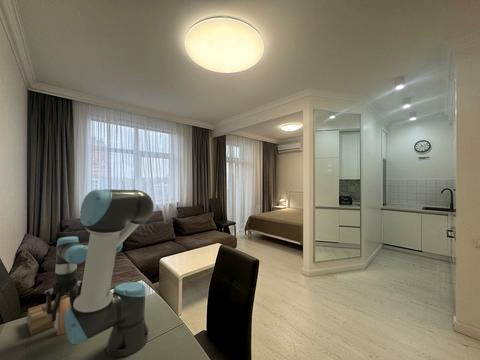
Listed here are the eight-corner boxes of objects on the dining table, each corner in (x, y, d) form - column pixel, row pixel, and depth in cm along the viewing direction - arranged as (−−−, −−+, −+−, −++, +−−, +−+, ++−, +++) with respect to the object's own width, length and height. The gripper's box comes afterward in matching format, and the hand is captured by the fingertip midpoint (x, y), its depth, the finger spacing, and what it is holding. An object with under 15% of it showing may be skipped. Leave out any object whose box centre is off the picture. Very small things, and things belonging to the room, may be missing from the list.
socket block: (72, 320, 96) (73, 305, 97) (31, 336, 85) (32, 319, 86) (65, 310, 105) (66, 296, 105) (27, 324, 94) (28, 308, 94)
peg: (69, 331, 89) (71, 296, 90) (57, 336, 85) (59, 300, 87) (67, 327, 91) (69, 294, 92) (55, 332, 88) (57, 297, 89)
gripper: (86, 264, 99) (83, 312, 97) (38, 275, 86) (34, 331, 84) (91, 267, 95) (88, 318, 93) (41, 279, 81) (37, 339, 79)
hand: (62, 324), depth 88 cm, fingers closed on peg, 4 cm apart
